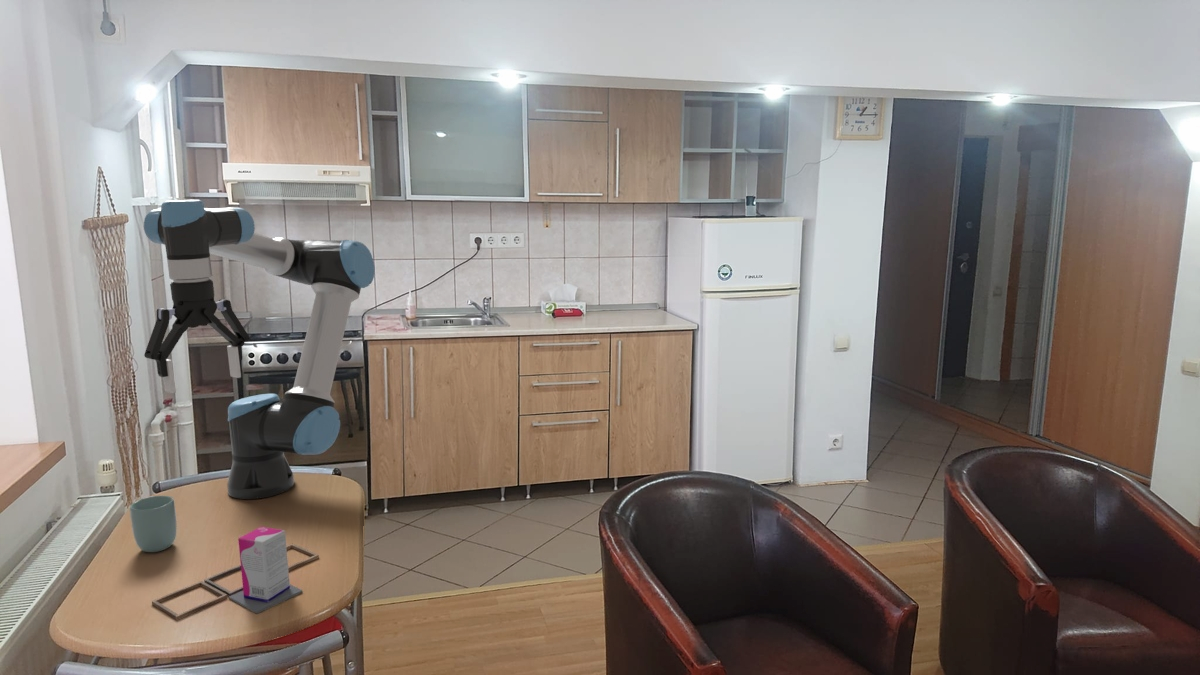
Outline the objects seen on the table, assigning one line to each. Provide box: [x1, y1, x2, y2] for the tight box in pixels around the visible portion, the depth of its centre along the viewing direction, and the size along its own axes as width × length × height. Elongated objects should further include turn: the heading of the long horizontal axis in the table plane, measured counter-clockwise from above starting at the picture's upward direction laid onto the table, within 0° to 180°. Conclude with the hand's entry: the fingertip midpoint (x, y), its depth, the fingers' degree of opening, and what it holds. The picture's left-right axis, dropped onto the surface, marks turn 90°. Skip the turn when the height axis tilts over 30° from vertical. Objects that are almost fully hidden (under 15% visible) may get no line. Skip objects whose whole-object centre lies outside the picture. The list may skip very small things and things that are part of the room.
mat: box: [228, 583, 303, 614], centre depth 143 cm, size 9×9×1 cm
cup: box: [129, 495, 178, 553], centre depth 161 cm, size 8×8×10 cm
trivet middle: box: [203, 564, 243, 597], centre depth 149 cm, size 9×9×1 cm
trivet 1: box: [151, 580, 229, 621], centre depth 141 cm, size 9×9×1 cm
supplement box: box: [237, 526, 291, 602], centre depth 142 cm, size 6×6×12 cm
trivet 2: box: [286, 543, 320, 572], centre depth 156 cm, size 9×9×1 cm
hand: (204, 384), depth 159 cm, fingers open, 13 cm apart
